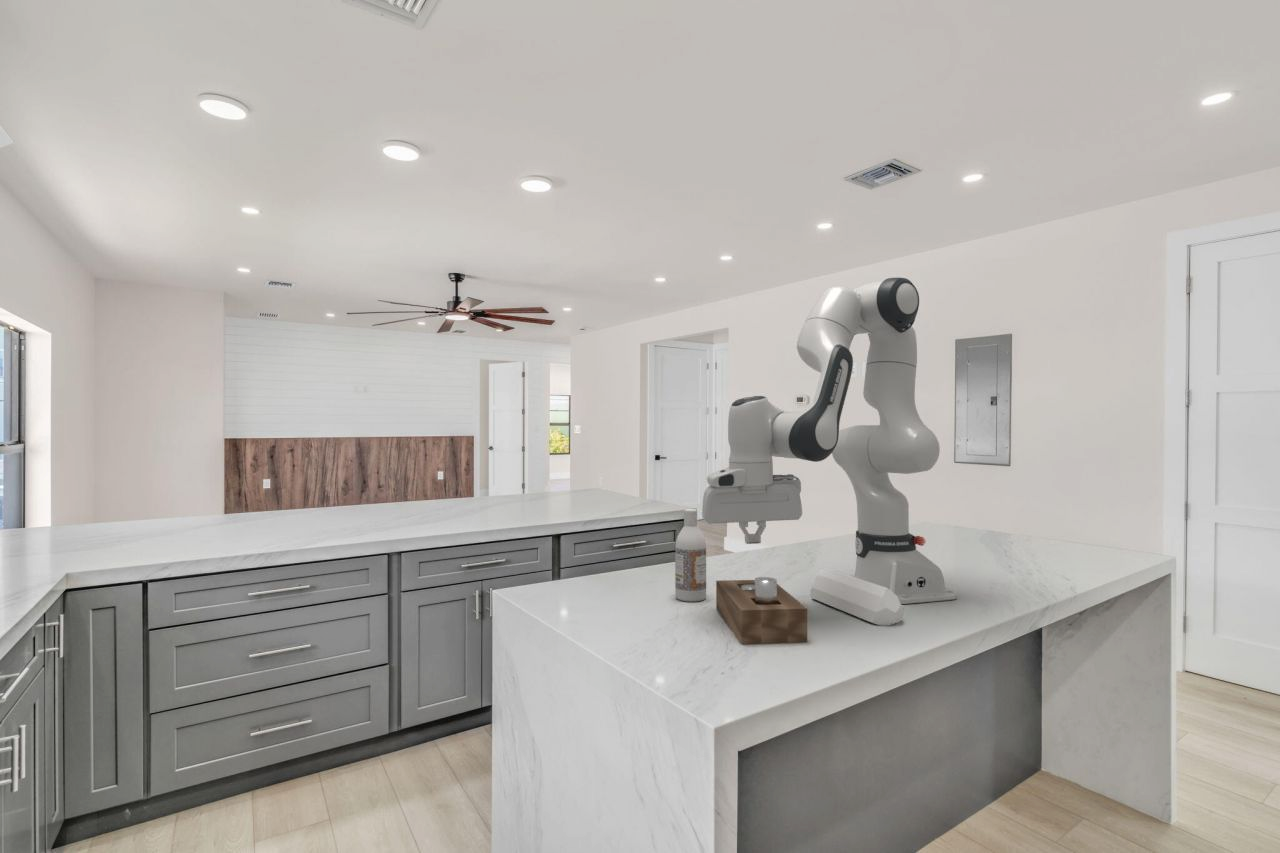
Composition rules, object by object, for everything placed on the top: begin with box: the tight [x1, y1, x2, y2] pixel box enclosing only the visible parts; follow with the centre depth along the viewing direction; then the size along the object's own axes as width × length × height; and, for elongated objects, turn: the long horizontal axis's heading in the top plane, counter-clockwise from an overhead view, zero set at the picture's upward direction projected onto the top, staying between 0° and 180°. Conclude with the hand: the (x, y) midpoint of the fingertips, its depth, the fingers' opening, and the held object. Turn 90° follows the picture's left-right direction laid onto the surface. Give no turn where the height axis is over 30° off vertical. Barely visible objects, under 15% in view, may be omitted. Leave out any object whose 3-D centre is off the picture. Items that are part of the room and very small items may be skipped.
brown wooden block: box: [715, 579, 808, 645], centre depth 123 cm, size 12×22×6 cm, turn 5°
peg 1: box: [741, 584, 755, 590], centre depth 129 cm, size 4×4×6 cm
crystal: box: [810, 567, 904, 626], centre depth 133 cm, size 7×7×24 cm
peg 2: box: [754, 576, 778, 605], centre depth 118 cm, size 4×4×6 cm
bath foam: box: [674, 508, 707, 603], centre depth 142 cm, size 7×7×20 cm
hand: (752, 543), depth 129 cm, fingers closed
